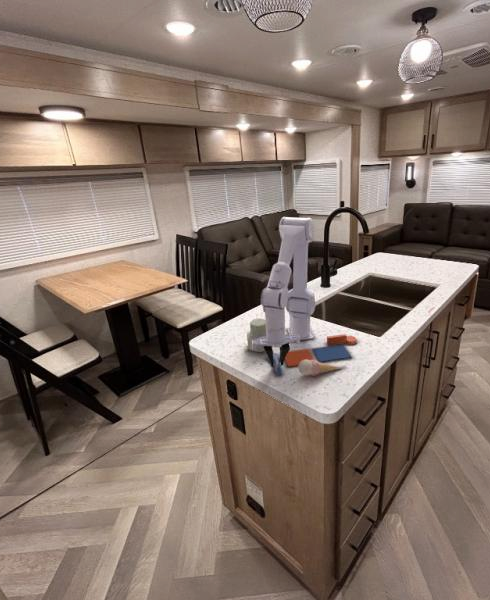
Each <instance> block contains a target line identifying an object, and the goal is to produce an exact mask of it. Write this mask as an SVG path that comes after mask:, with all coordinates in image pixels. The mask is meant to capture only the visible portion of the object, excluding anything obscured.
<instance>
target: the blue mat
mask: <svg viewBox="0 0 490 600" xmlns="http://www.w3.org/2000/svg"><path fill="white" fill-rule="evenodd" d="M312 352H313V353H314V355H315V357H316V360H317V361H318V362H320V363H326V362H327V363H328V362H332V361H340V360H347V359H352V355H351V354H350V353H349V351H348V350H347V349H346V347H345V345H344V344H335V345H327V346H322V347H314V348H312Z"/></svg>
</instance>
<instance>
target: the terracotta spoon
mask: <svg viewBox="0 0 490 600" xmlns="http://www.w3.org/2000/svg"><path fill="white" fill-rule="evenodd" d="M356 343H357V337H356V336H353V335H347V334H346V333H344V334H336V335H329V336H326V345H327V346H336V345H344V344H346V345H355V344H356Z"/></svg>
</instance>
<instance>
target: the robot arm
mask: <svg viewBox="0 0 490 600" xmlns="http://www.w3.org/2000/svg"><path fill="white" fill-rule="evenodd" d="M278 231H279V235H280V239H281V243H280V249H279V254H278V260H277V262H276V263H274V264H273V265H272V268H271V270H270V275H269V278H268V281H267V285H266V287H264V288H263V289H262V291H261V295H260V304H261V306H262V312H263V313H264V317H265V319H264V320H266V337H263V338H259V339H256V340H252V348H253V349H256V347H264V350H265V351H264V353H265V354H266V356H267V359H268V358H269V360H270V362H269V364H270V367H271V368H275V367H274V363H273V353H274V350H273V347H274V348H276V349H277V348H279V355H280V361H279V363H280V366H281V367H282V366H284V365H285V364H284V363H285V357H286V355H287V353H288V352H290V350H291V346H290V344H295V343H296V344H300V343H301V341H304V340H314V336H313V333H311V316H312V315H313V314H314V312H315V310H316V298H315V297H316V296H315V292H313V291H312V290H311V289H310V288H308V261H309V245H310V243H312V242H313V241H314V234H315V233H314V232H315V224H314V221H313V219H312V218H311V217H292V216H291V217H289V216H283V217H281V219H280V220H279V224H278ZM292 260H293V271H292V268H291V266H290V265H291V263H292ZM292 272H293V274H292ZM291 275H293V277H292V278H293V281H292V282H293V283H292V288H291V289H289V288H288V287H289V283H290V279H291ZM286 312H288V315H289V327H287V329H286ZM286 330H287V332H288V334H286Z"/></svg>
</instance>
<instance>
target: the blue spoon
mask: <svg viewBox="0 0 490 600" xmlns="http://www.w3.org/2000/svg"><path fill="white" fill-rule="evenodd" d="M267 361H268V363H270V360H269V358H268V357H267ZM273 363H274V367H273V368H274V370H275V373H276V376H281V375H282V366H281V363H280V353H276V352H273Z"/></svg>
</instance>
